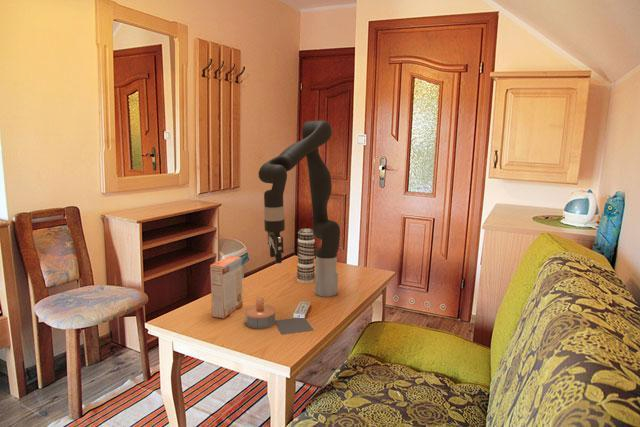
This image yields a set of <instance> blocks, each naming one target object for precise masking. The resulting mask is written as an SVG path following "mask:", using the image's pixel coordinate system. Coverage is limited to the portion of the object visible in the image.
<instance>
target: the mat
mask: <svg viewBox="0 0 640 427" xmlns="http://www.w3.org/2000/svg"><path fill="white" fill-rule="evenodd" d="M274 324H275V326H276V328H277V330H278V331H279V333H280V335H281V336H283V335H289V334H296V333H306V332H311V331H315V329H314V328H313V327H312V325H311V324H310V323H309V321H308V320H307V318H306V317H305V318H299V317H293V318H286V319H285V318H284V319H277V320H276V319H275V323H274Z"/></svg>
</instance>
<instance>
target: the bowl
mask: <svg viewBox="0 0 640 427" xmlns="http://www.w3.org/2000/svg"><path fill="white" fill-rule="evenodd" d="M275 315H276V313H275V314H274V315H273V316H271V317H268V318H262V319H255V318H250V317H248V316H246V315H245V323H246V325H247V327H248V328H251V329H252V328H253V329H255V330H256V329H257V330H259V329H260V330H261V329H267V328H271V326H273V325H274V324H275V320H276V319H275V317H276V316H275Z"/></svg>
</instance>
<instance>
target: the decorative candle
mask: <svg viewBox="0 0 640 427" xmlns="http://www.w3.org/2000/svg"><path fill="white" fill-rule="evenodd" d="M297 234H298V235H297V236H298V238H297V241H296V246H297V247H296V249H297V250H296V252H297V253H296V254H297V255H296V256H297V261H298V262H297V266H296V267H297V272H296V277H297V279H296V280H297V282H299V283H303V284H306V283H307V284H308V283H309V284H310V283H313V282H315V275H316V265H315V261H314V260H315V258H316V250H315V249H317V248H316V246H317V244H316V243H315V235H314V233H313V228H312V229H311V228H307V227H306V228H301V229H300V230H299V231H298V232H297Z"/></svg>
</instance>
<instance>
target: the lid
mask: <svg viewBox="0 0 640 427" xmlns="http://www.w3.org/2000/svg"><path fill="white" fill-rule="evenodd" d="M255 303H256V304H253V305H250V306H247V307H245V309H244V315H245V317H246V316H248V317H250V318H255V319H262V318H268V317H271V316H273V315H274V314H275V315H276V308H275V307H274V306H272V305H268V304H265V298H264V297H256V298H255Z"/></svg>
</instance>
